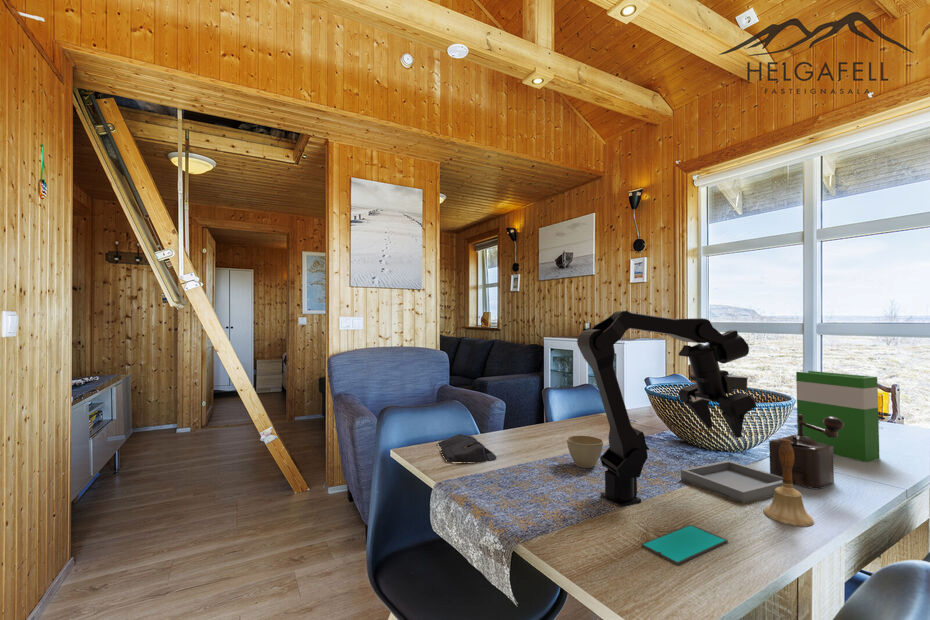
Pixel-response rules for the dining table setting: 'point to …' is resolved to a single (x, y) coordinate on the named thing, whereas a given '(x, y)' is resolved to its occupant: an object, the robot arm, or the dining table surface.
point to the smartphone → (684, 544)
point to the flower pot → (585, 450)
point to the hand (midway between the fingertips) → (723, 432)
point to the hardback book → (841, 411)
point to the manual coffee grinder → (808, 455)
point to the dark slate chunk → (465, 450)
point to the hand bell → (788, 494)
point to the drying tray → (733, 480)
